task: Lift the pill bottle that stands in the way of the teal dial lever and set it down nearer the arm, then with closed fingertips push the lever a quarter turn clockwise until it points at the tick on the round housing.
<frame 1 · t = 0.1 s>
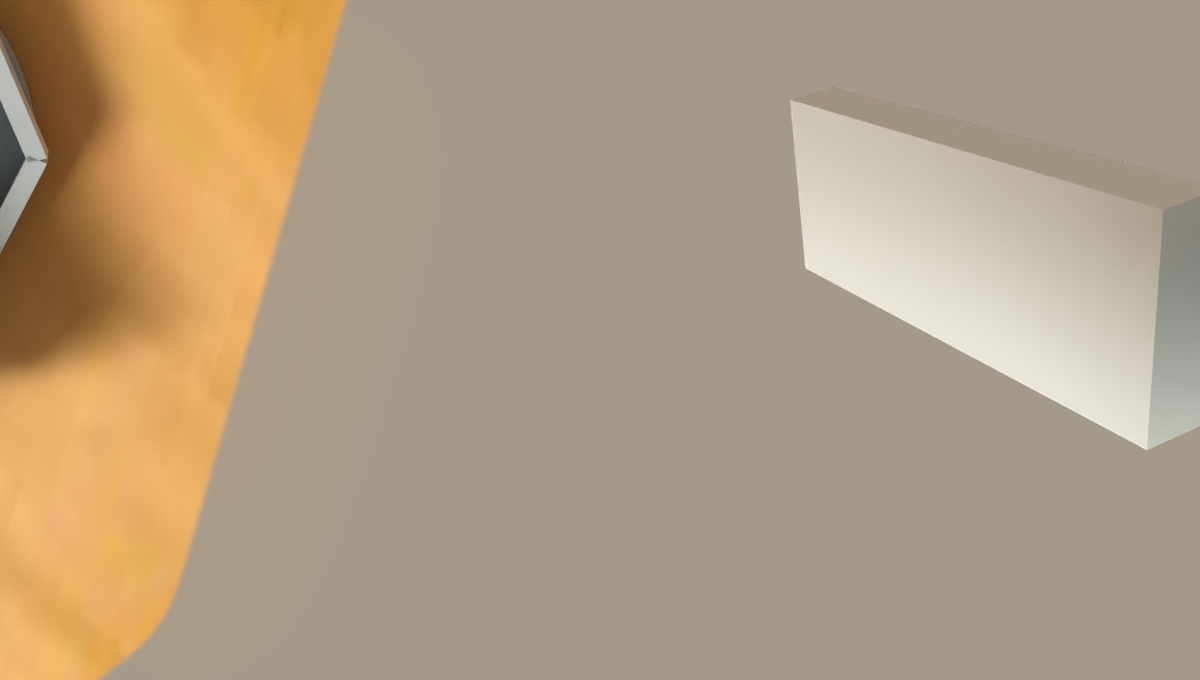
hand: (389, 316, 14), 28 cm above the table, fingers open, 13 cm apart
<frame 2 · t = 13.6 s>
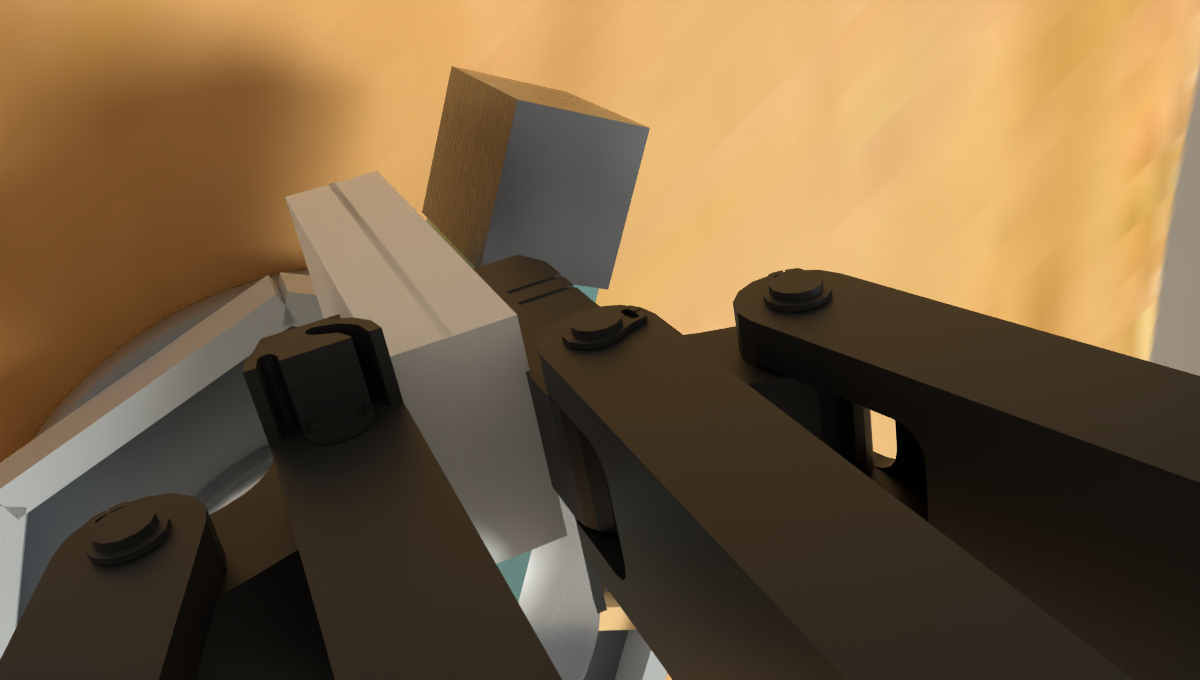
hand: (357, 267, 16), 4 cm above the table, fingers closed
housing: (355, 575, 23), on the table
dial: (430, 531, 19), point 4 cm above the table, hinge at -0.4°, touching gripper
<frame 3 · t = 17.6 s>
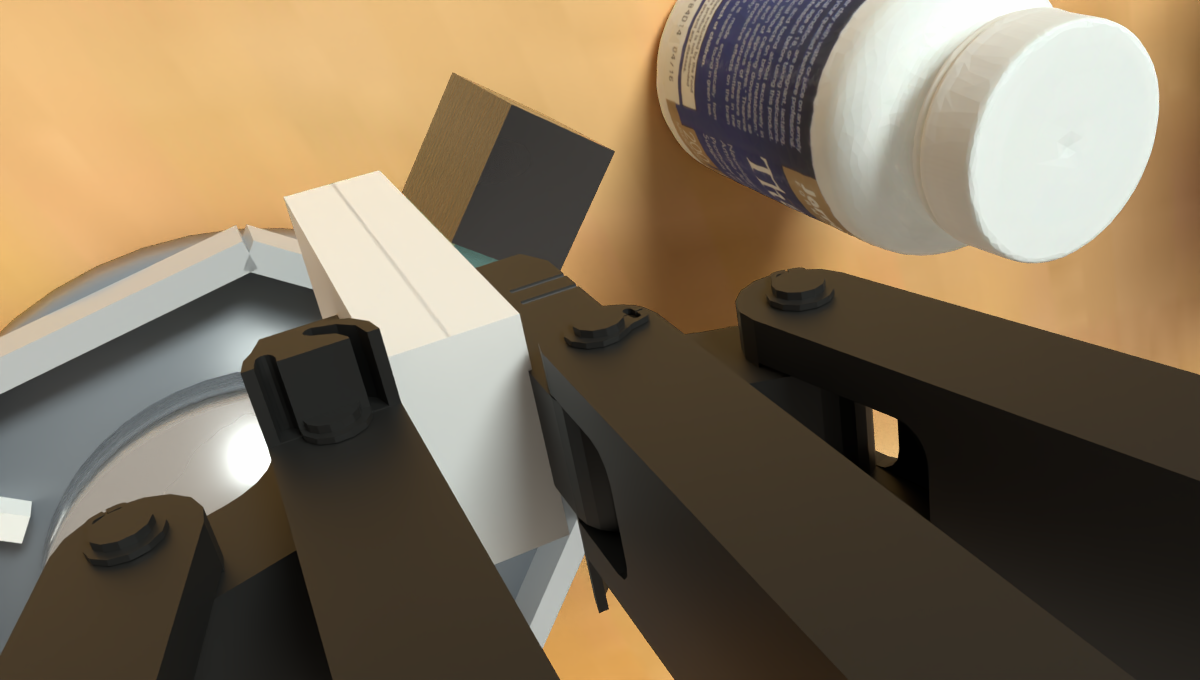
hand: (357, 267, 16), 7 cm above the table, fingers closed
housing: (265, 522, 24), on the table
pill bottle: (746, 60, 25), on the table
dial: (353, 477, 21), point 4 cm above the table, hinge at -92.5°
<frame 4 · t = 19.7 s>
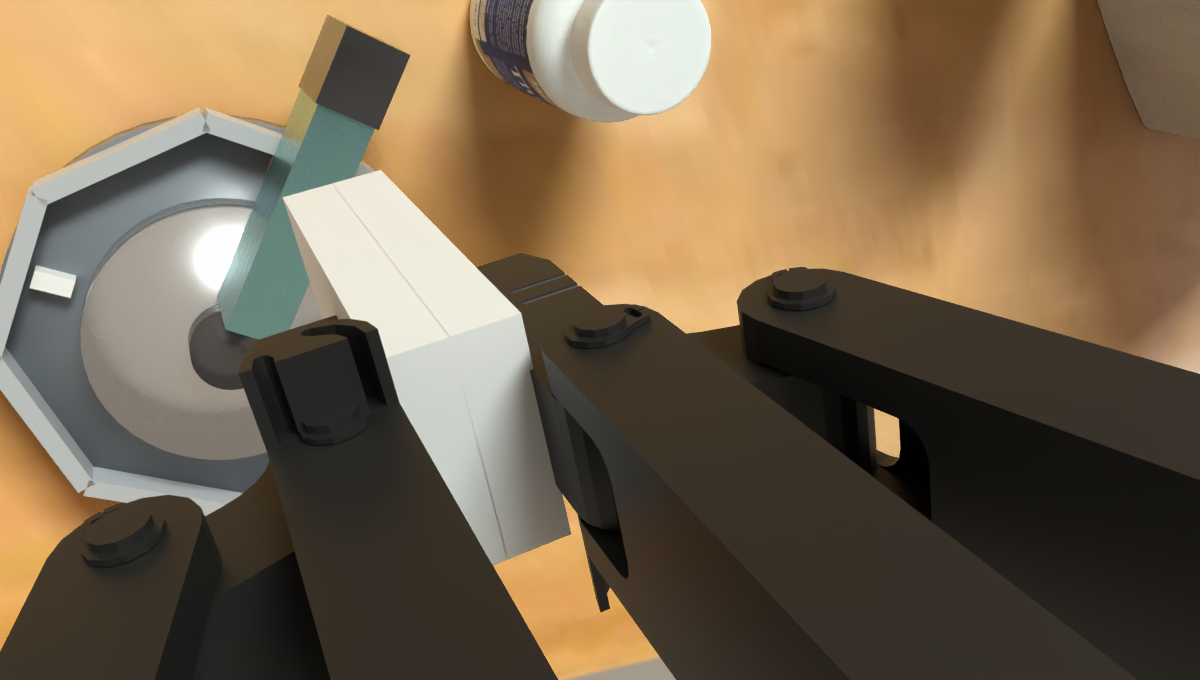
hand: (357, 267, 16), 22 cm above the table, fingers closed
planter: (1169, 46, 52), on the table
housing: (222, 310, 38), on the table
pill bottle: (535, 16, 39), on the table
dial: (269, 258, 34), point 4 cm above the table, hinge at -93.1°
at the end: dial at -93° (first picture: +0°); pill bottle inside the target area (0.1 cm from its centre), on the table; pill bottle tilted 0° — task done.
